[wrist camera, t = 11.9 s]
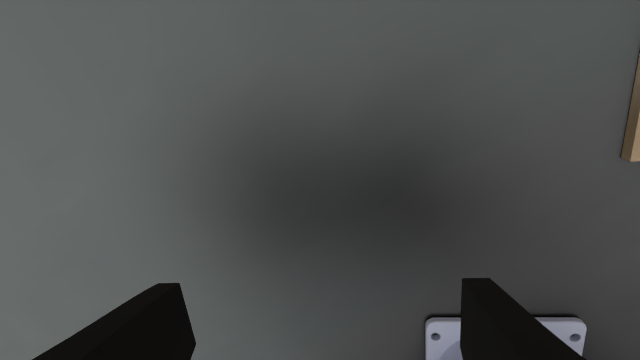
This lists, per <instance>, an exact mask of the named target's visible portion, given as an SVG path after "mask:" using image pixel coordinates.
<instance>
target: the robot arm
mask: <svg viewBox="0 0 640 360" xmlns="http://www.w3.org/2000/svg"><path fill="white" fill-rule="evenodd" d="M586 330H587V328H586V325H585V324H584V323H583V321H582V320H581V319H579V318H575V317H533V316H532V315H531V314H530V313H529V312H527V311H526V310H525V309H524V308H523V307H522V306H521V305H519V304H518V303H517V302H516V301H515V300H514V299H513V298H512V297H510V296H509V295H508V294H507V293H506V292H505V291H504V290H503V289H501V288H500V287H499V286H498V285H497V284H496V283H495V282H493V281H492V280H491V279H490V278H462V298H461V318H430V319H428V320H427V321H426V324H425V360H586V359H584V358H583V357H582V353H583V347H584V341H585V336H586ZM433 333H438V334H437V335H432V334H433ZM572 334H575V335H573V336H571V335H572ZM195 346H196V342H195V338H194V334H193V331H192V327H191V323H190V320H189V316H188V313H187V309H186V305H185V302H184V298H183V294H182V291H181V287H180V283H158V284H156V285H154V286H152V287H151V288H149V289H147V290H145V291H143V292H142V293H140V294H138V295H137V296H135V297H133V298H132V299H130V300H128V301H127V302H125V303H124V304H122V305H120V306H119V307H117V308H116V309H114V310H112V311H111V312H109V313H108V314H106V315H105V316H103V317H101V318H100V319H98V320H97V321H95V322H93V323H92V324H90V325H89V326H87V327H85V328H84V329H82V330H81V331H79V332H77V333H76V334H74V335H73V336H71V337H69V338H68V339H66V340H64V341H63V342H61V343H59V344H58V345H56V346H54V347H53V348H51V349H49V350H47V351H46V352H44V353H42V354H41V355H39V356H37V357H36V358H34V359H32V360H190V359H191V356H192V354H193V351H194V348H195Z"/></svg>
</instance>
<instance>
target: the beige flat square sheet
mask: <svg viewBox="0 0 640 360" xmlns="http://www.w3.org/2000/svg"><path fill="white" fill-rule="evenodd" d="M621 158H623V159H625V160H628V161H630V162H632V161H640V55H639V61H638V66H637V72H636V77H635V83H634V88H633V94H632V99H631V105H630V110H629V116H628V121H627V127H626V132H625V138H624V143H623V149H622V154H621Z"/></svg>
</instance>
